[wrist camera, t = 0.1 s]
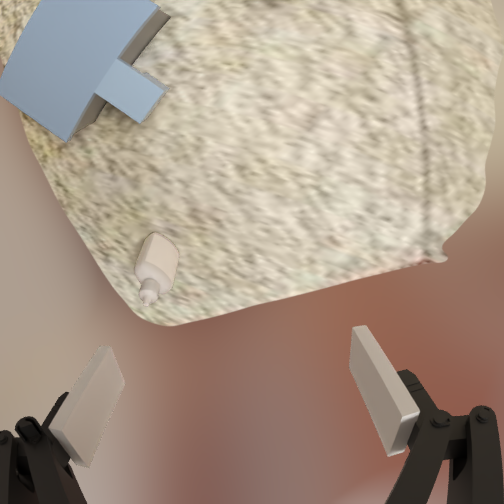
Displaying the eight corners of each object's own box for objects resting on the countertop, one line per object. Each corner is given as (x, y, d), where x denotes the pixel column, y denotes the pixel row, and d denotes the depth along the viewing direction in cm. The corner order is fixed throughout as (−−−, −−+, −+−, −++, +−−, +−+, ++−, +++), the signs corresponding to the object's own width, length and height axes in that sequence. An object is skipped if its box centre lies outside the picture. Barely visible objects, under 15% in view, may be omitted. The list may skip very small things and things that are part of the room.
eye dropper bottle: (171, 227, 42) (154, 284, 33) (182, 259, 46) (170, 318, 36) (143, 232, 43) (120, 289, 33) (155, 263, 46) (138, 321, 36)
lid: (80, -35, 16) (70, -40, 14) (210, 40, 24) (208, 39, 22) (7, 87, 23) (-5, 91, 21) (116, 163, 31) (108, 172, 29)
